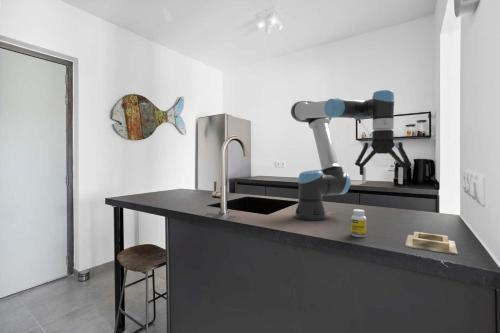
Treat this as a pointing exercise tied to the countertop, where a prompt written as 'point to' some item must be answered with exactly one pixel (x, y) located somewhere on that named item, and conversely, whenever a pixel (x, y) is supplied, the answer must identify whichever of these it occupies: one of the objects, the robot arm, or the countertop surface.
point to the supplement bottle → (358, 223)
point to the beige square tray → (431, 242)
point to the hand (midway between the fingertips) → (381, 183)
